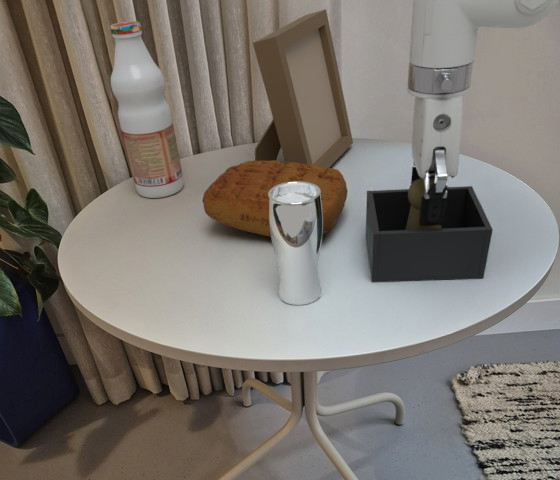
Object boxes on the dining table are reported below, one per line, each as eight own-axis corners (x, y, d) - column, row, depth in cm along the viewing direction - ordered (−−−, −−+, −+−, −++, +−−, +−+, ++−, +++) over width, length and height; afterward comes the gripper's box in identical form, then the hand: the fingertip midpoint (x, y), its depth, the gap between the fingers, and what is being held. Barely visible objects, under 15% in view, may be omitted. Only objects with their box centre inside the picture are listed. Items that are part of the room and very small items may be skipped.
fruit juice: (149, 204, 107) (108, 33, 88) (128, 188, 113) (87, 25, 95) (193, 189, 111) (163, 21, 92) (171, 174, 117) (139, 15, 98)
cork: (392, 253, 86) (396, 183, 79) (416, 238, 89) (423, 168, 82) (425, 267, 83) (433, 194, 76) (450, 251, 86) (459, 179, 78)
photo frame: (353, 147, 121) (354, 9, 104) (312, 190, 106) (307, 37, 90) (289, 141, 126) (281, 8, 110) (242, 181, 112) (225, 35, 95)
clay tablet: (199, 238, 95) (191, 192, 90) (240, 195, 107) (234, 151, 102) (326, 254, 89) (325, 205, 83) (355, 205, 100) (356, 160, 95)
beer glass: (318, 276, 84) (315, 177, 74) (329, 302, 79) (328, 199, 69) (271, 283, 83) (262, 184, 74) (280, 310, 78) (271, 208, 68)
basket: (464, 232, 91) (472, 185, 86) (483, 278, 81) (492, 229, 76) (365, 236, 92) (366, 190, 87) (371, 282, 82) (373, 234, 77)
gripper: (486, 96, 63) (464, 237, 75) (457, 57, 76) (443, 181, 88) (417, 101, 64) (406, 239, 75) (400, 61, 77) (393, 184, 88)
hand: (426, 208), depth 81 cm, fingers open, 9 cm apart
